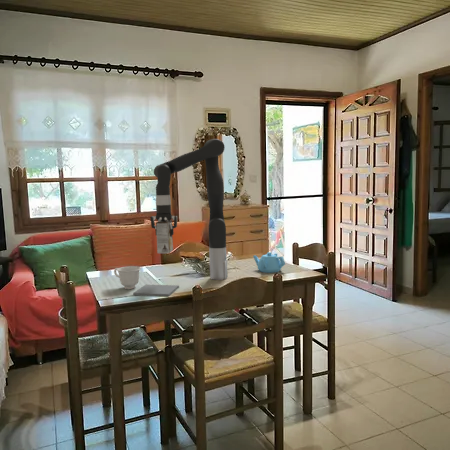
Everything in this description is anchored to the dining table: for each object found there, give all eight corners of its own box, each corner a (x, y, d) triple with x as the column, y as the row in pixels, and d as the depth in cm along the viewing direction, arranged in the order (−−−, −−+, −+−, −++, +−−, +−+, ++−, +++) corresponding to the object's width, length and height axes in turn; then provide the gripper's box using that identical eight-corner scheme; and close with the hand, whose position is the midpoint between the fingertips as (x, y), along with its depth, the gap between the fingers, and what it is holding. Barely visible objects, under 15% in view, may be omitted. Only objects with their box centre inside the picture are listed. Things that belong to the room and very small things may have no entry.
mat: (179, 287, 218) (178, 285, 218) (169, 296, 203) (168, 294, 203) (145, 286, 222) (145, 284, 222) (133, 295, 206) (133, 293, 206)
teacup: (122, 283, 229) (121, 265, 228) (146, 285, 224) (145, 266, 223) (108, 289, 218) (107, 270, 217) (133, 291, 213) (132, 271, 211)
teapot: (260, 274, 242) (260, 255, 241) (252, 269, 257) (252, 251, 256) (286, 272, 246) (286, 254, 245) (276, 267, 260) (276, 249, 259)
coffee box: (161, 250, 227) (160, 220, 225) (173, 250, 227) (172, 220, 225) (157, 253, 218) (155, 222, 216) (169, 253, 217) (168, 222, 216)
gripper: (178, 203, 222) (179, 235, 224) (151, 203, 224) (152, 235, 226) (175, 204, 215) (176, 237, 217) (147, 204, 216) (149, 237, 218)
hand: (164, 236), depth 221 cm, fingers closed on coffee box, 6 cm apart
